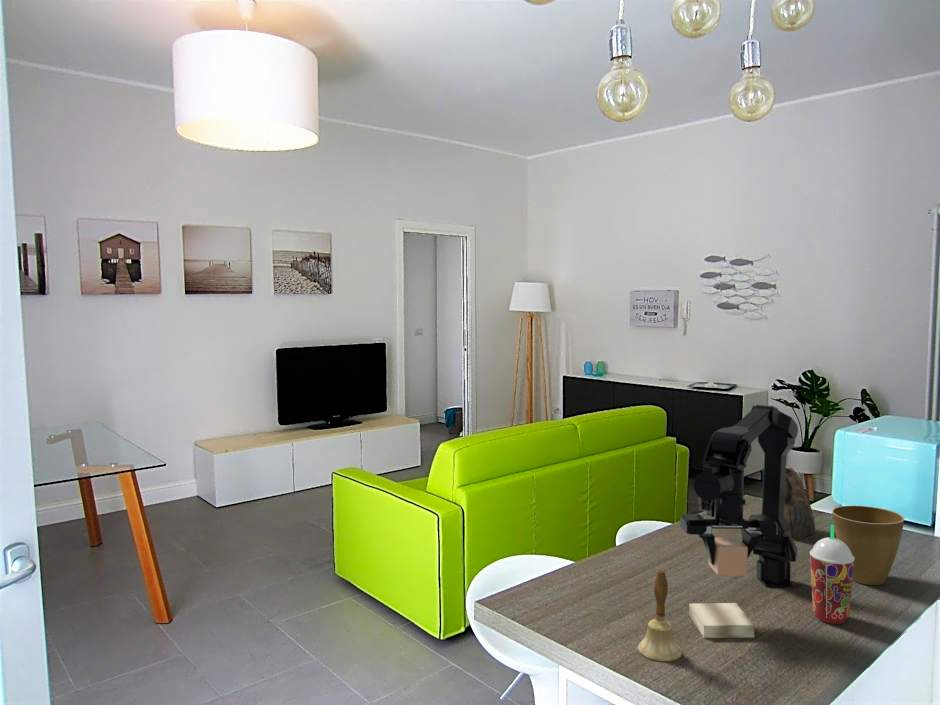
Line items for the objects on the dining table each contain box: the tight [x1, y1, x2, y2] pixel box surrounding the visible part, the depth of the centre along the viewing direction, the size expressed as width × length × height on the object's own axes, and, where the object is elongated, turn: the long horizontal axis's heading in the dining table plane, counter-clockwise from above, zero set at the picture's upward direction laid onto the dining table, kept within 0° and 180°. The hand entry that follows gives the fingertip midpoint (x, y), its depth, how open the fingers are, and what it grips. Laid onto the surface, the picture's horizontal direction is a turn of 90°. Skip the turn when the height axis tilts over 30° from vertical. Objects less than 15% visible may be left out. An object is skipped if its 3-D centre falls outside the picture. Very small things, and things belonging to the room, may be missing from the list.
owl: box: [784, 464, 816, 541], centre depth 198 cm, size 13×13×20 cm
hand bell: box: [637, 569, 683, 662], centre depth 133 cm, size 8×8×16 cm
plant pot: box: [831, 505, 905, 586], centre depth 164 cm, size 15×15×16 cm
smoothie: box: [809, 524, 855, 625], centre depth 144 cm, size 8×8×20 cm
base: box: [688, 602, 755, 639], centre depth 143 cm, size 10×10×3 cm
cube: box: [708, 536, 748, 577], centre depth 145 cm, size 6×6×6 cm
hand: (727, 564), depth 145 cm, fingers closed on cube, 6 cm apart
